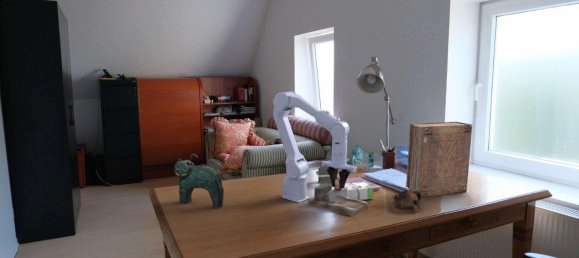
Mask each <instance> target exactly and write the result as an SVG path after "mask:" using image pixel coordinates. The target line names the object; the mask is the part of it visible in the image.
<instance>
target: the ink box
mask: <svg viewBox="0 0 579 258" xmlns="http://www.w3.org/2000/svg"><path fill="white" fill-rule="evenodd" d="M345 188H347V197H349V198H353V199H357V200H361V201H364V200H373V199H374V187H373V186H371V185H370V184H369V183H366V182H363V181H362V182H351V183H350V182H346V183H345Z"/></svg>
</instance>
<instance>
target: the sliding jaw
mask: <svg viewBox="0 0 579 258" xmlns="http://www.w3.org/2000/svg"><path fill="white" fill-rule="evenodd" d="M333 188H334V189H333ZM333 188H332V190H331V191H329V202H331V203H334V204H339V203H341V202H343V201H345V200H347V188H345V187H344V188H343V189H340V177H338V176H337V177H335V185H334V187H333Z"/></svg>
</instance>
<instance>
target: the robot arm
mask: <svg viewBox="0 0 579 258" xmlns="http://www.w3.org/2000/svg"><path fill="white" fill-rule="evenodd" d="M272 103H273V111H272V113H273V114H272V117H273V119H274V122H275V126H276V129H277V131H278V134H279V137H280V140H281V144H282V147H283V148H284V151H285V155H286V159H285V167H286V169H285V170H286V176H285V177H284V178H283V181H282V196H281V198H282V199H285V200H288V201H292V202H295V203H302V202H304V201H306V200H307V201H308V200H309V199H312V197H311V196H310V195H307V176H308V175H307V174H308V172H309V170H310V165H309V163H308V161H307V160H306V159H305V157H304V155H303V154H302V153H301V152H300V150H299V146H298V144H297V141H296V138H295V136H294V133H293V130H292V126H291V123H290V120H289V118H288V116H289V114H290V112H291V110H292V109H293V108H294V109H295V108H298V109H300V110H301V111H303V112H305V113H306V114H308V115H310V116H312V117H314V119H315V123H317V124H318V125H319V126H321V127H323V128H324V129H325V130H326V131H328V132H330V135H331V137H332V139H331V161H330V160H329V161H328V160H323V161H322V162H321V163H322V166H323V167H329V168H328V169H327V172H328V174H329V176H330V179H331V183H332V188H334V185H335V177H338V176H339V177H340V189H343V188H344V187H345V184H346V183H347V180H348V178H349V176H350V174H351V173H352V174H353V173H357V170H358V169H357V168H358V167H357V166H355V165H351V164H348V163H347V161H348V158H347V156H348V134H349V132H350V130H351V129H350V125H349V123H348V122H346V121H345V120H341V119H340V117H336V116H334V115H332V114H331V111H330V110H325V109H324V110H319V109H318V108H317V107H315V106H314V105H313V104H311V103H310V102H309V101H308V100H306V99H305V98H304V97H302V95H300V94H298V93H296V92H294V91H293V90H291V91H286V92H285V91H283V92H278V93H277V94H275V97H274V98H273V100H272ZM337 175H338V176H337Z"/></svg>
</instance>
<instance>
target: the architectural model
mask: <svg viewBox="0 0 579 258" xmlns="http://www.w3.org/2000/svg"><path fill="white" fill-rule="evenodd" d="M319 165H320V166H319V167H318V170H316V171H315V174H316V175H317V177H318V178H317V182H318V183H320V185H322V184H325V183H328V184H332V183H331V179H330V176H329V174H328V172H327V169H328V168H329V167H323V166H322V162H320V164H319ZM338 176H339V174H338V175H337V177H338Z"/></svg>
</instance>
